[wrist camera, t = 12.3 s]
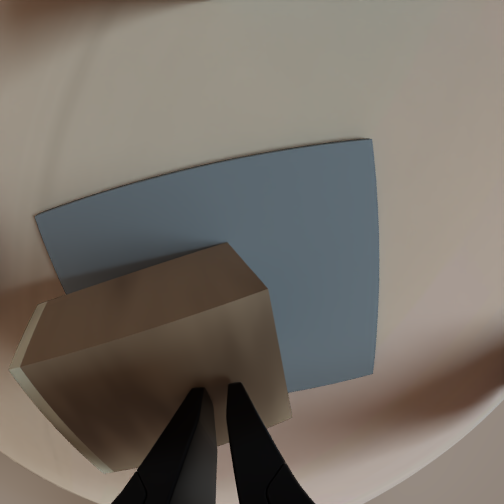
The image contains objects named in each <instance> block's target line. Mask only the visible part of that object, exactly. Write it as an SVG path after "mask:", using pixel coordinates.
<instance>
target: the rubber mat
mask: <svg viewBox="0 0 504 504" xmlns="http://www.w3.org/2000/svg"><path fill="white" fill-rule="evenodd" d="M35 219H36V222H37V225H38V228H39V230H40V233H41V236H42V239H43V241H44V244H45V246H46V249H47V251H48V254H49V256H50V259H51V261H52V264H53V266H54V268H55V271H56V273H57V275H58V278H59V280H60V282H61V284H62V286H63V289H64V291H65V293H66V295H67V294H70V293H73V292H76V291H79V290H82V289H85V288H88V287H91V286H94V285H97V284H100V283H103V282H106V281H109V280H112V279H115V278H118V277H121V276H124V275H127V274H130V273H133V272H136V271H139V270H142V269H145V268H148V267H151V266H154V265H157V264H160V263H163V262H166V261H169V260H173V259H176V258H179V257H182V256H185V255H188V254H191V253H194V252H197V251H201V250H204V249H207V248H210V247H213V246H216V245H219V244H223V243H226V242H228V244H229V245H230V246H231V247H232V248H233V249H234V250H235V252H236V253H237V254H238V255H239V256H240V257H241V258H242V260H243V261H244V262H245V263H246V264H247V265H248V266H249V267H250V269H251V270H252V271H253V272H254V273H255V274H256V275H257V277H258V278H259V279H260V280H261V281H262V282H263V283H264V285H265V286H266V287H267V288H268V290H269V295H270V301H271V306H272V311H273V316H274V322H275V327H276V332H277V337H278V343H279V348H280V353H281V359H282V364H283V369H284V375H285V380H286V386H287V391H288V393H289V392H294V391H300V390H305V389H310V388H315V387H320V386H325V385H329V384H334V383H338V382H342V381H347V380H351V379H355V378H359V377H362V376H366V375H370V374H373V368H374V358H375V347H376V334H377V319H378V296H379V225H378V203H377V187H376V174H375V163H374V153H373V144H372V139H358V140H349V141H340V142H332V143H324V144H317V145H310V146H303V147H296V148H290V149H284V150H278V151H272V152H266V153H260V154H255V155H250V156H244V157H239V158H234V159H229V160H224V161H220V162H215V163H210V164H206V165H201V166H197V167H193V168H188V169H184V170H180V171H176V172H172V173H168V174H164V175H160V176H156V177H153V178H149V179H145V180H142V181H138V182H134V183H131V184H127V185H124V186H120V187H117V188H114V189H110V190H107V191H104V192H101V193H97V194H94V195H91V196H88V197H85V198H82V199H79V200H76V201H73V202H70V203H67V204H64V205H61V206H58V207H56V208H53V209H50V210H47V211H45V212H42V213H39V214H38V215H36V216H35Z"/></svg>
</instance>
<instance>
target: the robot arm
mask: <svg viewBox="0 0 504 504" xmlns="http://www.w3.org/2000/svg"><path fill="white" fill-rule="evenodd" d="M226 422H227V429H228V436H229V443H230V449H231V456H232V462H233V469H234V475H235V481H236V487H237V493H238V498H239V504H315V503H314V502H313V501H312V499H311V498H310V497H309V496H308V495H307V493H306V492H305V491H304V490H303V488H302V487H301V486H300V484H299V483H298V481H297V480H296V478H295V477H294V475H293V474H292V472H291V470H290V469H289V467H288V465H287V464H286V463H285V460H284V459H283V457H282V455H281V454H280V452H279V450H278V448H277V447H276V445H275V443H274V441H273V440H272V438H271V436H270V434H269V432H268V431H267V429H266V427H265V425H264V423H263V421H262V420H261V418H260V416H259V414H258V412H257V410H256V408H255V407H254V405H253V403H252V401H251V399H250V397H249V395H248V393H247V391H246V389H245V388H244V386H243V384H242V382H234V383H229V384H228V390H227V406H226ZM216 472H217V441H216V429H215V417H214V407H213V403H212V400H211V398H210V396H209V394H208V392H207V390H206V388H205V387H196V388H192V389H191V390H190V391H189V393H188V394H187V396H186V397H185V399H184V400H183V402H182V403H181V405H180V406H179V408H178V409H177V411H176V412H175V414H174V415H173V417H172V418H171V420H170V421H169V423H168V424H167V426H166V428H165V429H164V431H163V432H162V434H161V435H160V437H159V438H158V440H157V441H156V443H155V444H154V445H153V447H152V448H151V450H150V451H149V453H148V454H147V456H146V457H145V459H144V460H143V462H142V463H141V465H140V466H139V468H138V469H137V472H135V473H134V475H133V476H132V478H131V479H130V481H129V482H128V483H127V485H126V486H125V487H124V489H123V490H122V492H121V493H120V494H119V495H118V496H117V497H116V499H115V500H114V501H113V502H112V503H111V504H215V503H216Z"/></svg>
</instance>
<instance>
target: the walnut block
mask: <svg viewBox="0 0 504 504" xmlns="http://www.w3.org/2000/svg"><path fill="white" fill-rule="evenodd" d="M9 371H10V373H11V374H12V376H13V377H14V378H15V380H16V381H17V382H18V384H19V385H20V386H21V388H22V389H23V390H24V391H25V393H26V394H27V395H28V396H29V398H30V399H31V400H32V401H33V403H34V404H35V405H36V406H37V407H38V409H39V410H40V411H41V412H42V413H43V414H44V416H45V417H46V418H47V419H48V420H49V421H50V422H51V423H52V424H53V426H54V427H55V428H56V429H57V430H58V431H59V432H60V433H61V434H62V435H63V436H64V437H65V438H66V439H67V440H68V441H69V442H70V443H71V444H72V445H73V446H74V447H75V448H76V449H77V450H78V451H79V452H80V453H81V454H82V455H83V456H84V457H85V458H87V459H88V460H89V461H90V462H91V463H92V464H93V465H94V466H95V467H97V468H98V469H99V470H100V471H101V472H102V473H111V472H117V471H122V470H128V469H133V468H138V467H139V466H140V465H141V463H142V462H143V460H144V459H145V457H146V456H147V454H148V453H149V451H150V450H151V448H152V447H153V445H154V444H155V443H156V441H157V440H158V438H159V437H160V435H161V434H162V432H163V431H164V429H165V428H166V426H167V424H168V423H169V421H170V420H171V418H172V417H173V415H174V414H175V412H176V411H177V409H178V408H179V406H180V405H181V403H182V402H183V400H184V399H185V397H186V396H187V394H188V393H189V391H190V390H191V389H192V388H196V387H205V388H206V390H207V392H208V394H209V396H210V398H211V400H212V403H213V407H214V417H215V429H216V441H217V446H220V445H223V444H226V443H229V436H228V429H227V422H226V406H227V390H228V384H229V383H234V382H242V384H243V386H244V388H245V389H246V391H247V393H248V395H249V397H250V399H251V401H252V403H253V405H254V407H255V408H256V410H257V412H258V414H259V416H260V418H261V420H262V421H263V423H264V425H265V427H266V428H269V427H271V426H274V425H276V424H278V423H281V422H283V421H285V420H288V419H290V418H292V413H291V407H290V402H289V397H288V391H287V386H286V380H285V375H284V369H283V364H282V359H281V353H280V348H279V343H278V337H277V332H276V327H275V322H274V316H273V311H272V306H271V301H270V295H269V290H268V288H267V287H266V286H265V285H264V283H263V282H262V281H261V280H260V279H259V278H258V277H257V275H256V274H255V273H254V272H253V271H252V270H251V269H250V267H249V266H248V265H247V264H246V263H245V262H244V261H243V260H242V258H241V257H240V256H239V255H238V254H237V253H236V252H235V250H234V249H233V248H232V247H231V246H230V245H229V244H228V242H226V243H223V244H219V245H216V246H213V247H210V248H207V249H204V250H201V251H197V252H194V253H191V254H188V255H185V256H182V257H179V258H176V259H173V260H169V261H166V262H163V263H160V264H157V265H154V266H151V267H148V268H145V269H142V270H139V271H136V272H133V273H130V274H127V275H124V276H121V277H118V278H115V279H112V280H109V281H106V282H103V283H100V284H97V285H94V286H91V287H88V288H85V289H82V290H79V291H76V292H73V293H70V294H67V295H64V296H61V297H58V298H55V299H53V300H50V301H47V302H44V303H41V304H38V305H37V307H36V309H35V311H34V313H33V315H32V317H31V319H30V321H29V324H28V326H27V328H26V330H25V332H24V334H23V336H22V339H21V341H20V343H19V346H18V348H17V350H16V353H15V355H14V357H13V360H12V362H11V365H10V367H9Z"/></svg>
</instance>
